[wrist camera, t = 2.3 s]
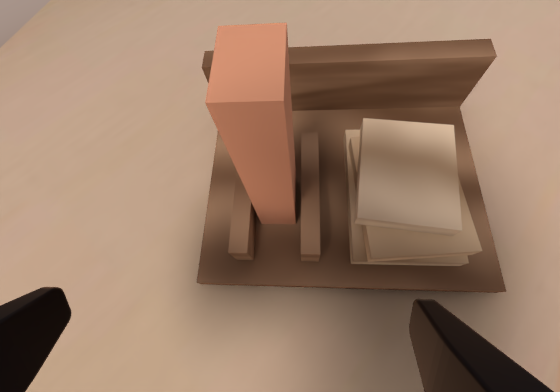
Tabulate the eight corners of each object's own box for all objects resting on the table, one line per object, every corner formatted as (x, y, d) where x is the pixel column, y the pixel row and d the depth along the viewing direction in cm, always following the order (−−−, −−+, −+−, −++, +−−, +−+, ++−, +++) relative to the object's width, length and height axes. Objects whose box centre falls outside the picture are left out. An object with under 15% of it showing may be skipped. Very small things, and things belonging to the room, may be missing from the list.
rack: (496, 292, 19) (574, 282, 14) (201, 283, 21) (164, 272, 15) (450, 99, 25) (490, 38, 20) (225, 105, 27) (204, 51, 21)
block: (295, 224, 21) (283, 100, 9) (261, 223, 21) (205, 102, 9) (296, 180, 22) (286, 22, 10) (264, 180, 22) (218, 26, 11)
